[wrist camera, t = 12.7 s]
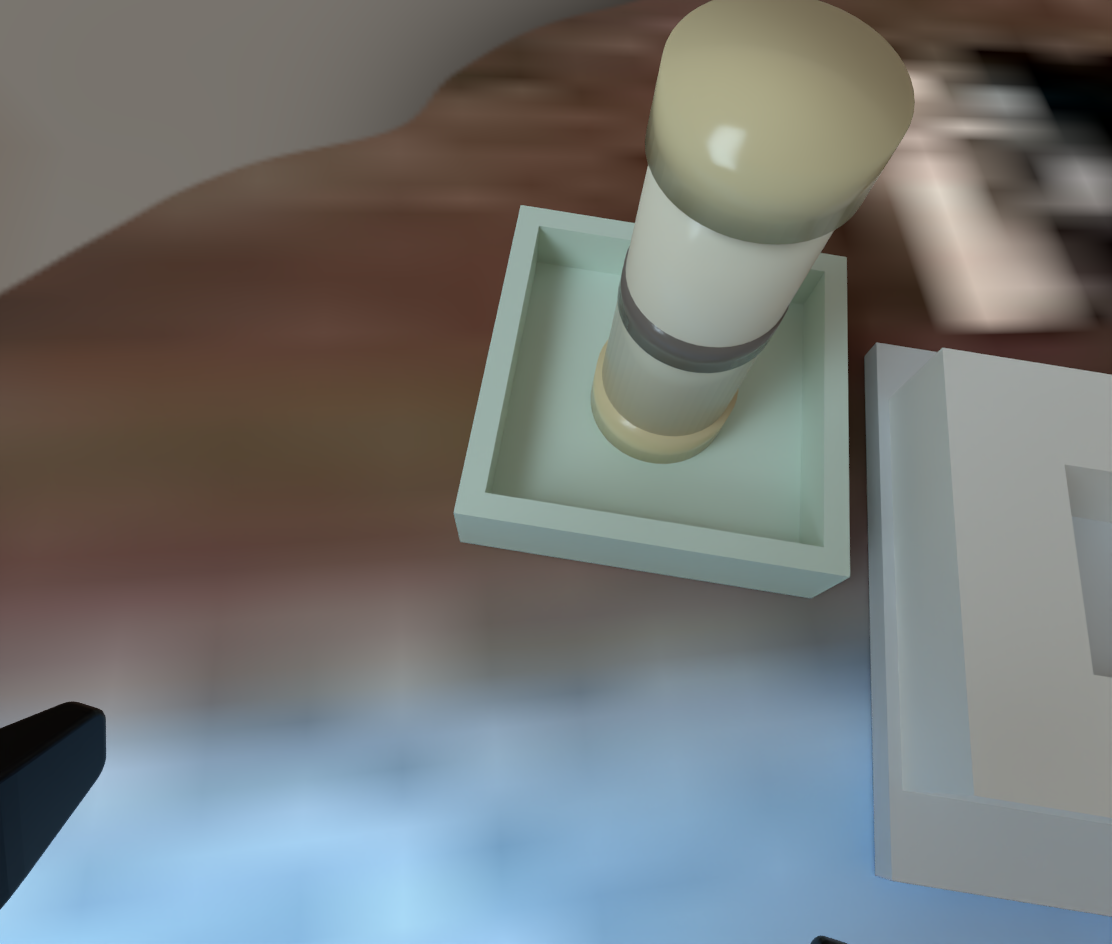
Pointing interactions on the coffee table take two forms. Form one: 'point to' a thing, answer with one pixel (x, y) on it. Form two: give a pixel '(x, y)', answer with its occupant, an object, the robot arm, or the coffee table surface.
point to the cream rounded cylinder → (738, 205)
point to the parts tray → (647, 488)
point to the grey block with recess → (991, 625)
